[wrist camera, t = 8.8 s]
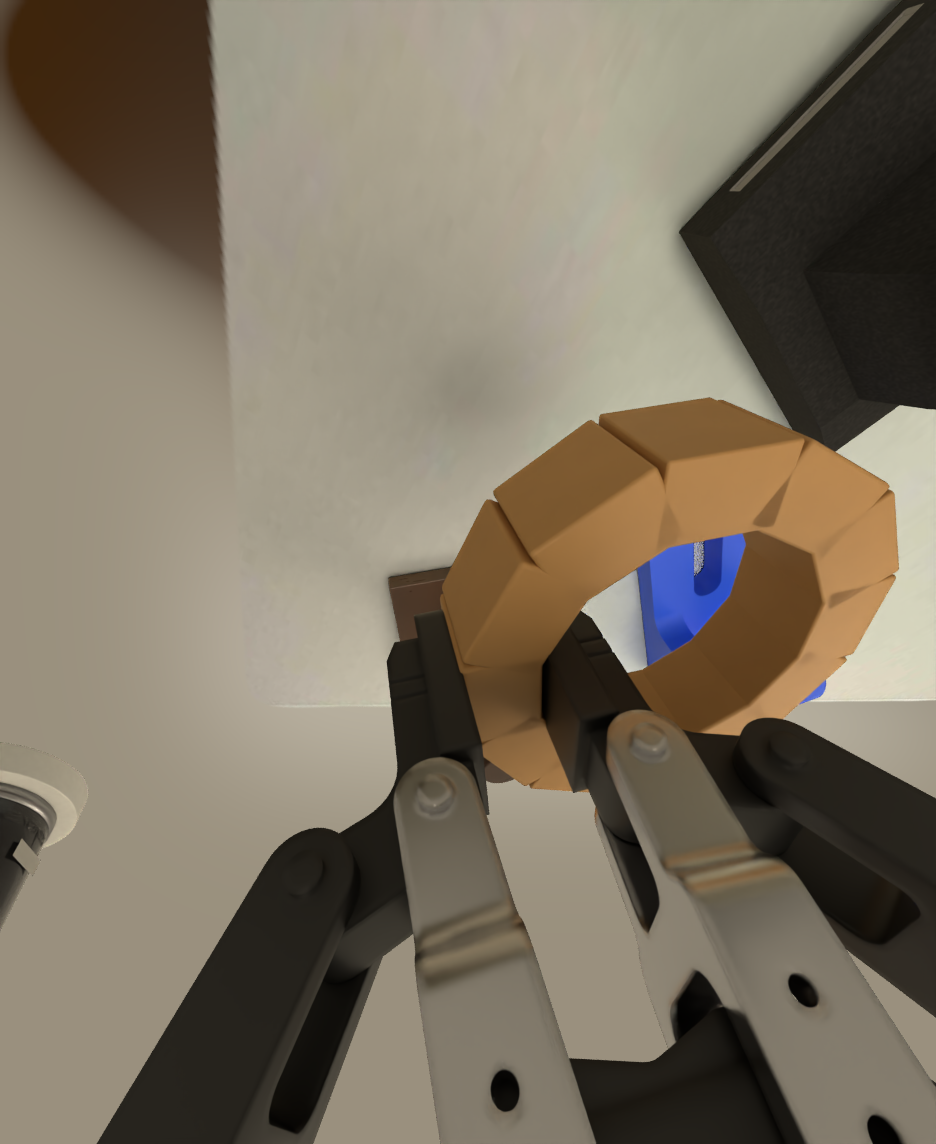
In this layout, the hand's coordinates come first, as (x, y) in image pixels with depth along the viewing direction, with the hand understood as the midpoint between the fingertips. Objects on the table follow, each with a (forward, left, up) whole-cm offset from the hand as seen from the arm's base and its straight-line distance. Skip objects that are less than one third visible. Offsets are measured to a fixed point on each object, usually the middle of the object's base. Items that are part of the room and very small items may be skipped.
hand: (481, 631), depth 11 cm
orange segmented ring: (+4, 0, 0) cm, 4 cm away
